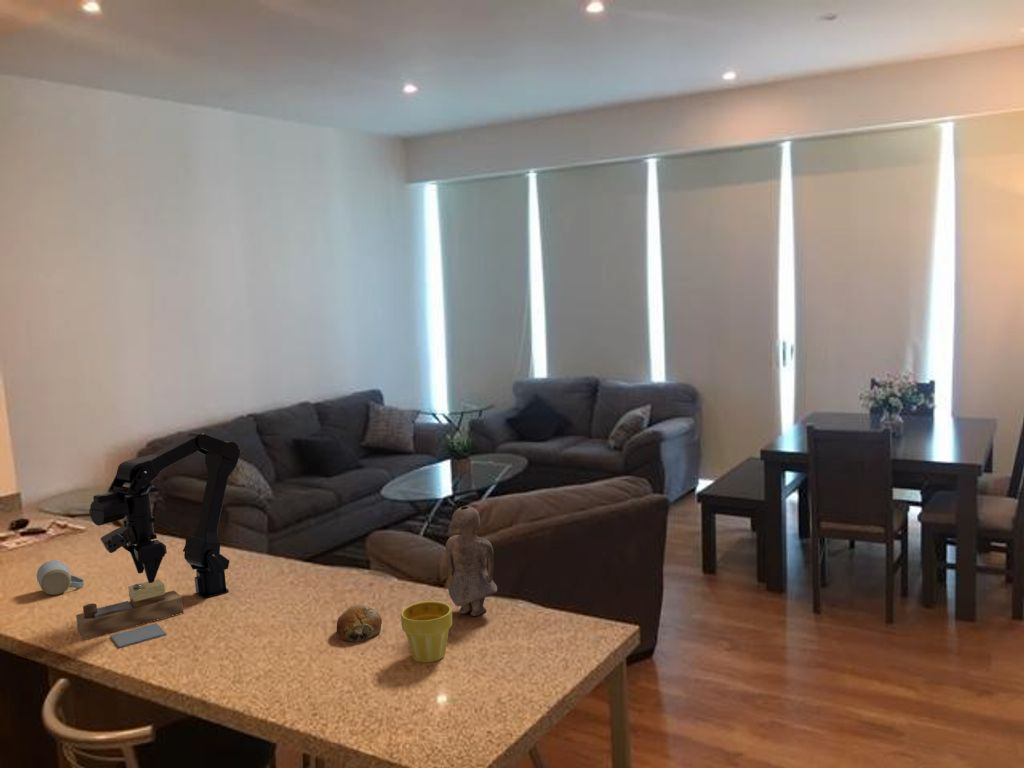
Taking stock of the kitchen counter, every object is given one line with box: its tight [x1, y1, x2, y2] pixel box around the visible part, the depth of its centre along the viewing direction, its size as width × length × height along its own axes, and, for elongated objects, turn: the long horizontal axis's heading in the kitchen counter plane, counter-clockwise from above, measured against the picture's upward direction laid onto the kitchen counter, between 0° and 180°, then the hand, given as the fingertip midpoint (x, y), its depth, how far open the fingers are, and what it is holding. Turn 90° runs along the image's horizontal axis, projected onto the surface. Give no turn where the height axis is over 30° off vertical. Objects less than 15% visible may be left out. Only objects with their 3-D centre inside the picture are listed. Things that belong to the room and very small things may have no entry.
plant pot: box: [400, 600, 453, 664], centre depth 176 cm, size 10×10×10 cm
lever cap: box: [128, 578, 166, 602], centre depth 204 cm, size 7×5×3 cm, turn 127°
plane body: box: [75, 590, 184, 640], centre depth 202 cm, size 22×6×6 cm, turn 127°
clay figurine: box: [445, 505, 498, 617], centre depth 197 cm, size 13×10×25 cm
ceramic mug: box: [36, 559, 85, 596], centre depth 227 cm, size 11×8×8 cm
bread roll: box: [336, 604, 383, 642], centre depth 190 cm, size 10×10×8 cm
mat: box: [110, 622, 167, 649], centre depth 194 cm, size 10×8×1 cm
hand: (145, 577), depth 204 cm, fingers open, 9 cm apart
